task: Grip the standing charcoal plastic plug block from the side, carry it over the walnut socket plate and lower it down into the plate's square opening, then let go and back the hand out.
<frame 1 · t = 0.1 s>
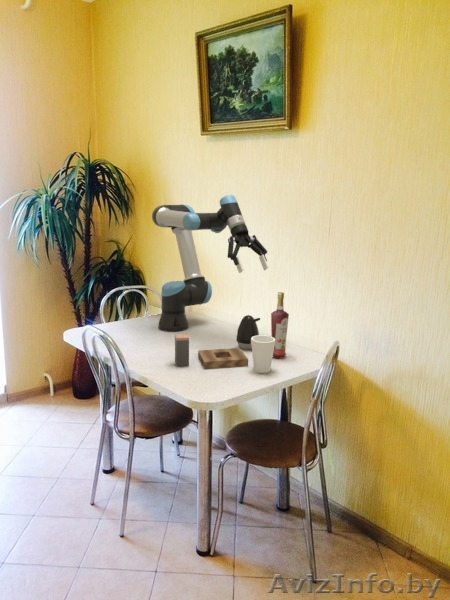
hand: (254, 270, 206), 36 cm above the table, tool tilted 35°, fingers open, 13 cm apart
foam cup: (261, 370, 191), on the table
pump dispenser: (247, 348, 217), on the table
plug: (181, 364, 195), on the table
socket plate: (222, 361, 199), on the table
liquor: (277, 357, 206), on the table
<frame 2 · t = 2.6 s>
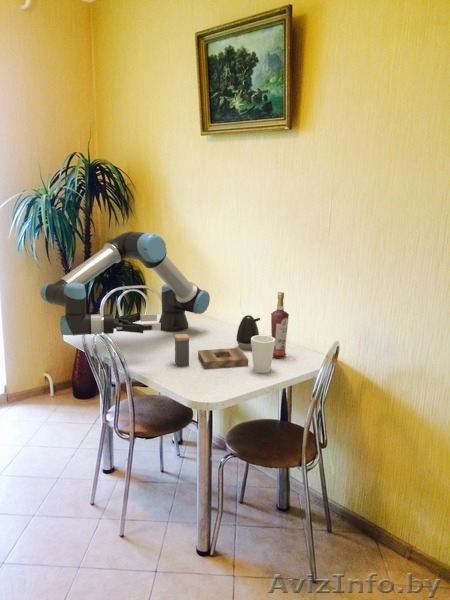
hand: (158, 321, 189), 18 cm above the table, tool horizontal, fingers open, 13 cm apart
nothing on the table moved.
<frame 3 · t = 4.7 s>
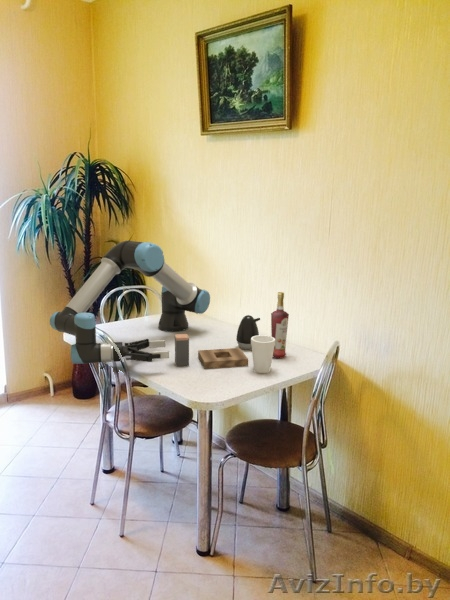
hand: (167, 348, 192), 7 cm above the table, tool horizontal, fingers open, 13 cm apart
nothing on the table moved.
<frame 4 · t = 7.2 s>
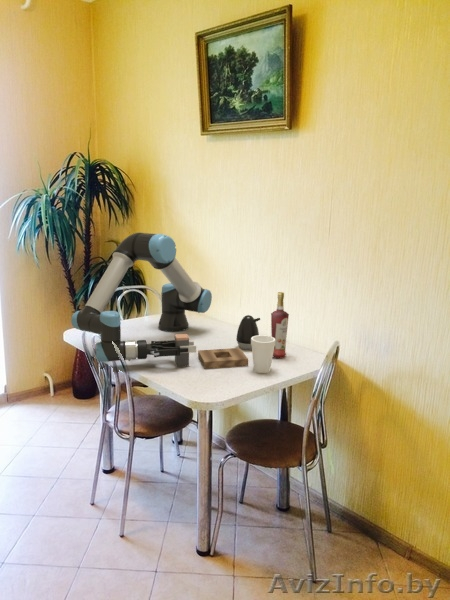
hand: (194, 346, 195), 7 cm above the table, tool horizontal, fingers closed on plug, 5 cm apart
plug: (181, 364, 195), on the table, touching gripper
everything else where it was.
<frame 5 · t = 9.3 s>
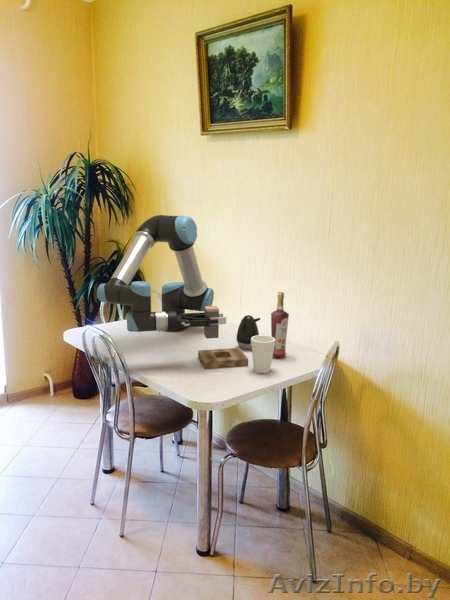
hand: (224, 318, 194), 19 cm above the table, tool horizontal, fingers closed on plug, 5 cm apart
plug: (211, 336, 194), point 11 cm above the table, touching gripper
everything else where it was.
when the fingers open (8 cm above the table, at t = 11.5 s): plug drops 1 cm, resting in socket plate.
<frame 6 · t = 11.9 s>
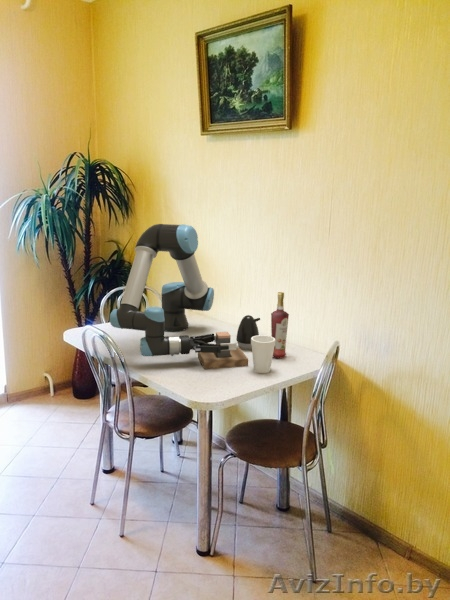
hand: (232, 342, 198), 8 cm above the table, tool horizontal, fingers open, 10 cm apart
plug: (222, 361, 199), resting in socket plate
everything else where it was.
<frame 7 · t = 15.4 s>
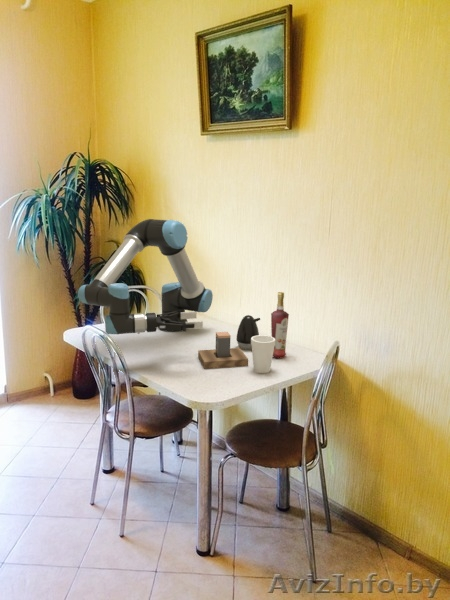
hand: (199, 319, 192), 19 cm above the table, tool horizontal, fingers open, 13 cm apart
nothing on the table moved.
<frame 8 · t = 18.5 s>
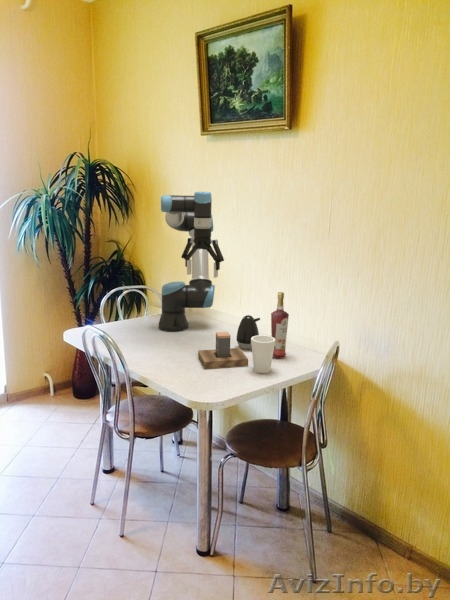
hand: (202, 275, 214), 32 cm above the table, tool pointing down, fingers open, 13 cm apart
nothing on the table moved.
at the end: plug 0.0 cm off-centre on the socket plate, point 0.0 cm above the socket plate's base; plug tilted 0°; the gripper is holding nothing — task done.
